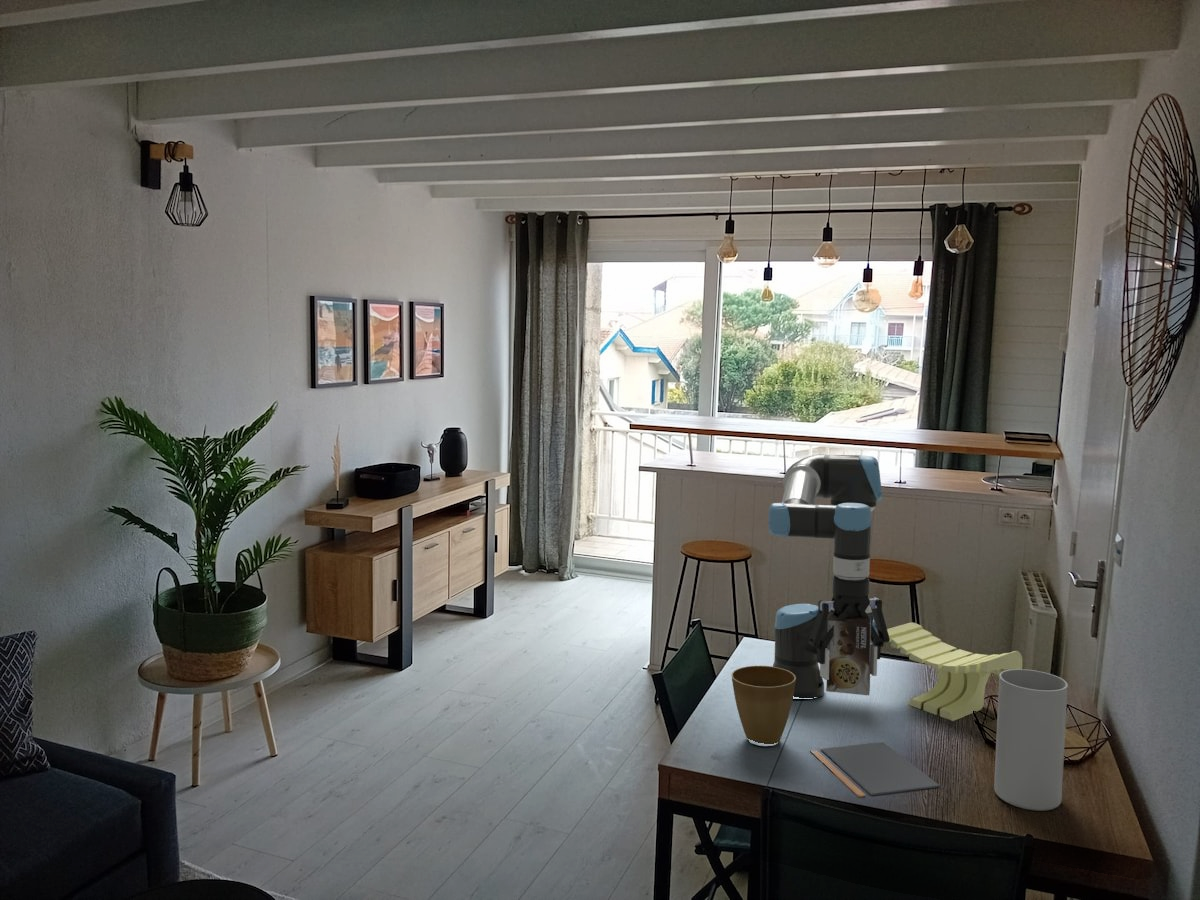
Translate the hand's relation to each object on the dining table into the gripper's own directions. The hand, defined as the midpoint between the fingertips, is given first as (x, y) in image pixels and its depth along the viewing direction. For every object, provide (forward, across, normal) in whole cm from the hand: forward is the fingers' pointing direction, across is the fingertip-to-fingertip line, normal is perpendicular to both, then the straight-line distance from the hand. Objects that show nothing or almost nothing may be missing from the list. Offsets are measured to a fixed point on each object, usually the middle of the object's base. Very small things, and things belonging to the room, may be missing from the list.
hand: (848, 675), depth 192 cm
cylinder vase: (+22, +31, -19) cm, 42 cm away
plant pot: (+22, -12, +18) cm, 31 cm away
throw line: (+22, -2, 0) cm, 22 cm away
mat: (+22, +8, 0) cm, 23 cm away
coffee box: (+3, 0, 0) cm, 3 cm away
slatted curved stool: (+22, +44, +29) cm, 57 cm away
